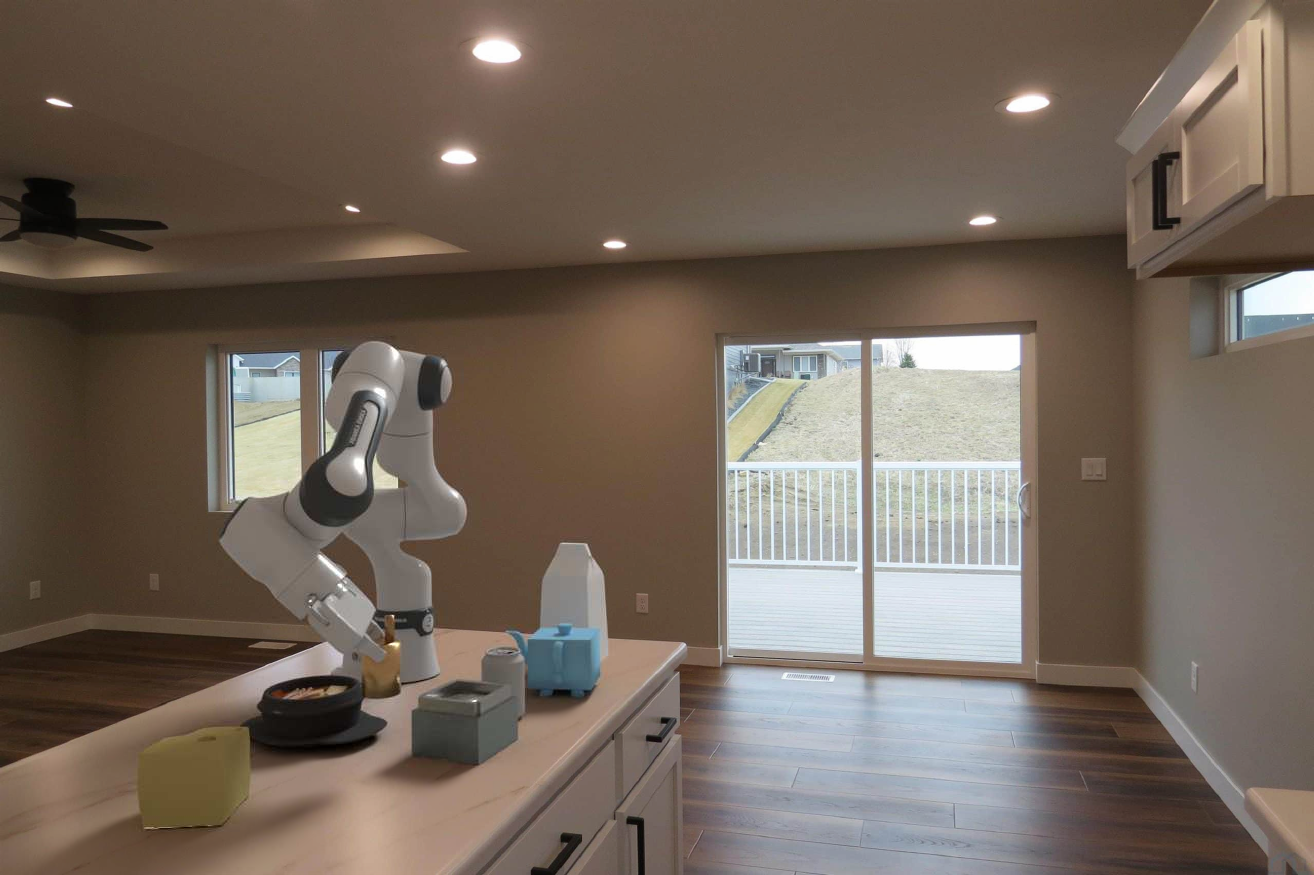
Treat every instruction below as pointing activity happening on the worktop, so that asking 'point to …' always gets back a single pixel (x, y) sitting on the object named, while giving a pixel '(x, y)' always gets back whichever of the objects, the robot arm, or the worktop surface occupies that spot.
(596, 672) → the teapot
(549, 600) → the milk
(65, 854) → the worktop surface
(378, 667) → the spout can
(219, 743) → the cheese
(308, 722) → the casserole
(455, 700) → the grey square box
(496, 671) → the can
